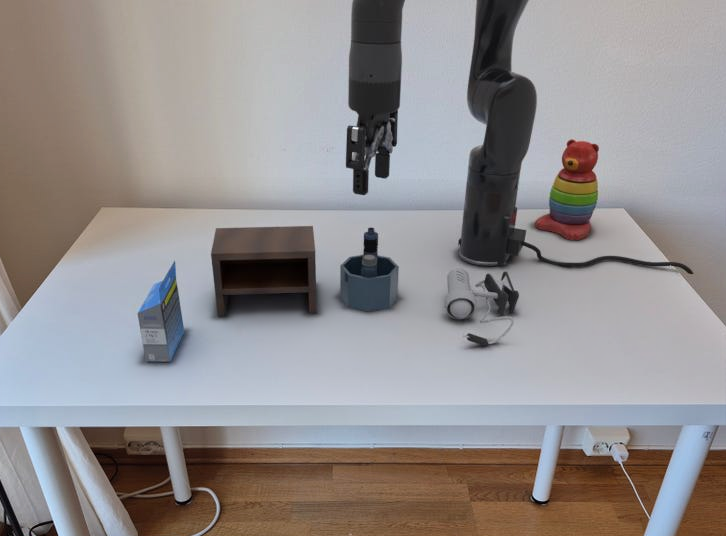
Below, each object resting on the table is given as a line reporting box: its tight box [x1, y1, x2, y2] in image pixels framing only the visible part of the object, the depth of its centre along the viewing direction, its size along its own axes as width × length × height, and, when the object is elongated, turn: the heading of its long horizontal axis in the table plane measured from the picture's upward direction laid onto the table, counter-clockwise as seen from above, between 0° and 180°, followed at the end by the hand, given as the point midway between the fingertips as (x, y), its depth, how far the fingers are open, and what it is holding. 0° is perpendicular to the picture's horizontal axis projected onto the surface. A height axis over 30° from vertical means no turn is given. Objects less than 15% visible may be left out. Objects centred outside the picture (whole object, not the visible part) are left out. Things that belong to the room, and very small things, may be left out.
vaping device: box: [361, 227, 379, 278], centre depth 116 cm, size 3×5×12 cm, turn 174°
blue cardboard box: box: [136, 260, 185, 363], centre depth 103 cm, size 9×4×12 cm, turn 178°
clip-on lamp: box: [443, 266, 520, 347], centre depth 112 cm, size 12×6×18 cm
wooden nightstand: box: [210, 225, 318, 318], centre depth 115 cm, size 16×10×11 cm, turn 95°
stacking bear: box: [534, 139, 600, 241], centre depth 141 cm, size 11×10×18 cm
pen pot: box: [339, 254, 400, 313], centre depth 118 cm, size 9×9×6 cm
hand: (371, 185), depth 109 cm, fingers open, 8 cm apart
